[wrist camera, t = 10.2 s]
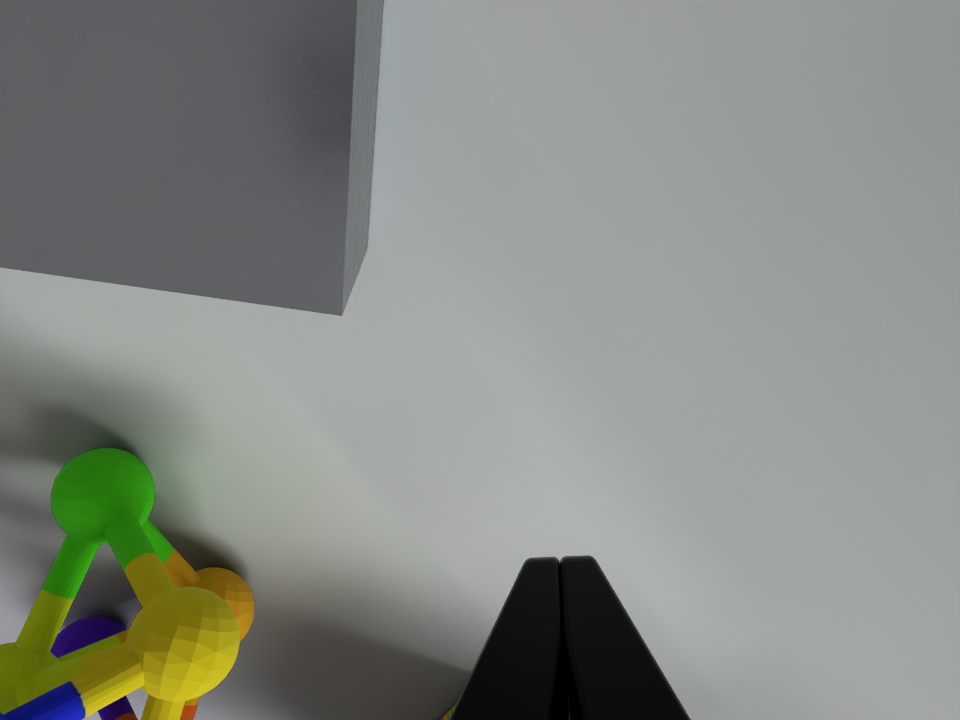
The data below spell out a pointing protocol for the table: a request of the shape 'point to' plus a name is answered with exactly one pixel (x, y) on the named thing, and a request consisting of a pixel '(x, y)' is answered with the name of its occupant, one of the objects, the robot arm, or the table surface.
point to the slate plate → (191, 144)
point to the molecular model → (103, 641)
